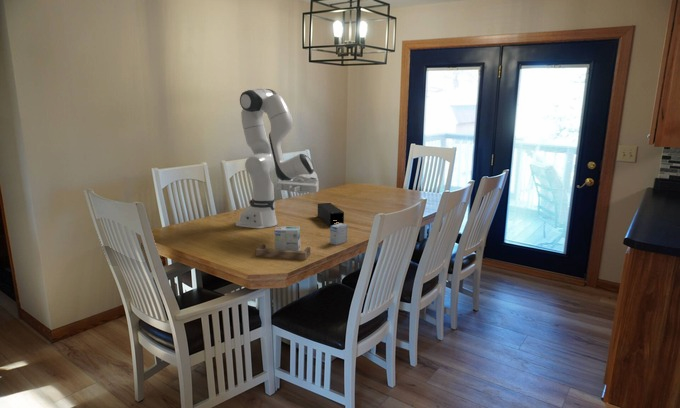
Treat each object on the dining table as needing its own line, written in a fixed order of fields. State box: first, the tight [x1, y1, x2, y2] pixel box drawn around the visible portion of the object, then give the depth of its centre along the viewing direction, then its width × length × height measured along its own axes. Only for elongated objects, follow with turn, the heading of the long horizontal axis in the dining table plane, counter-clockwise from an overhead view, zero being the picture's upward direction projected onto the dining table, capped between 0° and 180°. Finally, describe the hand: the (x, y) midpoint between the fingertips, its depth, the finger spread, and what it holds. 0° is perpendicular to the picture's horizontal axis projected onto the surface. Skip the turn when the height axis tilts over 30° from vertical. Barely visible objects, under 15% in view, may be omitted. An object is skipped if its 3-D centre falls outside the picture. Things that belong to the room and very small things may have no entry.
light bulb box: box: [274, 225, 301, 251], centre depth 195 cm, size 11×7×11 cm, turn 88°
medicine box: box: [329, 223, 348, 246], centre depth 208 cm, size 8×4×9 cm, turn 141°
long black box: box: [317, 202, 345, 227], centre depth 249 cm, size 8×8×28 cm
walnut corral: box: [255, 243, 311, 261], centre depth 190 cm, size 22×8×3 cm, turn 79°
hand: (291, 190), depth 201 cm, fingers closed
